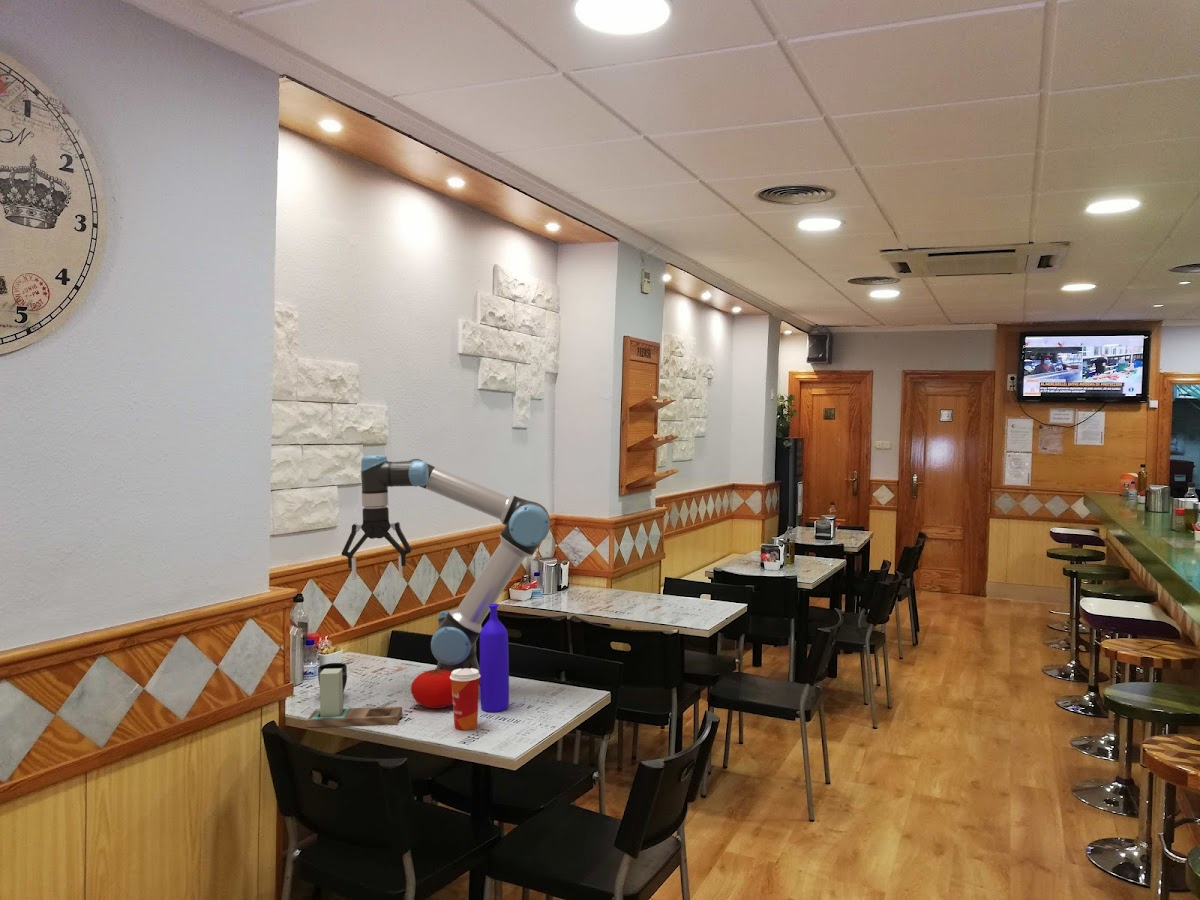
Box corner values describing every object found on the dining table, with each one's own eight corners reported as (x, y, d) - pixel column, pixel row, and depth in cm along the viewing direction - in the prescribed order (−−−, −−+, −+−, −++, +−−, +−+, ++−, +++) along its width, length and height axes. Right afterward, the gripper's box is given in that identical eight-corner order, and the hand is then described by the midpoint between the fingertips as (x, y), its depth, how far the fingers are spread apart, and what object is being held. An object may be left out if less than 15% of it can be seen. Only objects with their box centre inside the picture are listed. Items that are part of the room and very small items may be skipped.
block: (343, 717, 248) (342, 668, 247) (339, 723, 243) (338, 673, 242) (325, 718, 247) (324, 668, 247) (320, 724, 242) (319, 673, 242)
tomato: (467, 700, 263) (467, 665, 262) (451, 714, 250) (451, 677, 250) (422, 697, 265) (422, 663, 265) (404, 711, 253) (404, 675, 253)
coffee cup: (451, 722, 243) (450, 667, 243) (481, 720, 244) (481, 666, 244) (449, 732, 235) (448, 676, 234) (480, 731, 236) (479, 675, 235)
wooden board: (402, 713, 251) (401, 705, 251) (396, 724, 242) (396, 716, 242) (315, 716, 249) (315, 708, 249) (307, 727, 240) (307, 718, 240)
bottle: (486, 714, 249) (484, 608, 248) (476, 706, 257) (474, 603, 256) (513, 709, 253) (512, 605, 252) (503, 701, 260) (501, 600, 260)
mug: (331, 706, 258) (330, 674, 257) (314, 697, 267) (313, 666, 266) (357, 700, 263) (357, 669, 263) (339, 692, 272) (339, 661, 272)
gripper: (419, 504, 269) (421, 574, 269) (335, 507, 266) (337, 577, 267) (416, 506, 261) (418, 578, 262) (329, 509, 259) (332, 582, 259)
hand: (377, 578), depth 264 cm, fingers open, 13 cm apart
